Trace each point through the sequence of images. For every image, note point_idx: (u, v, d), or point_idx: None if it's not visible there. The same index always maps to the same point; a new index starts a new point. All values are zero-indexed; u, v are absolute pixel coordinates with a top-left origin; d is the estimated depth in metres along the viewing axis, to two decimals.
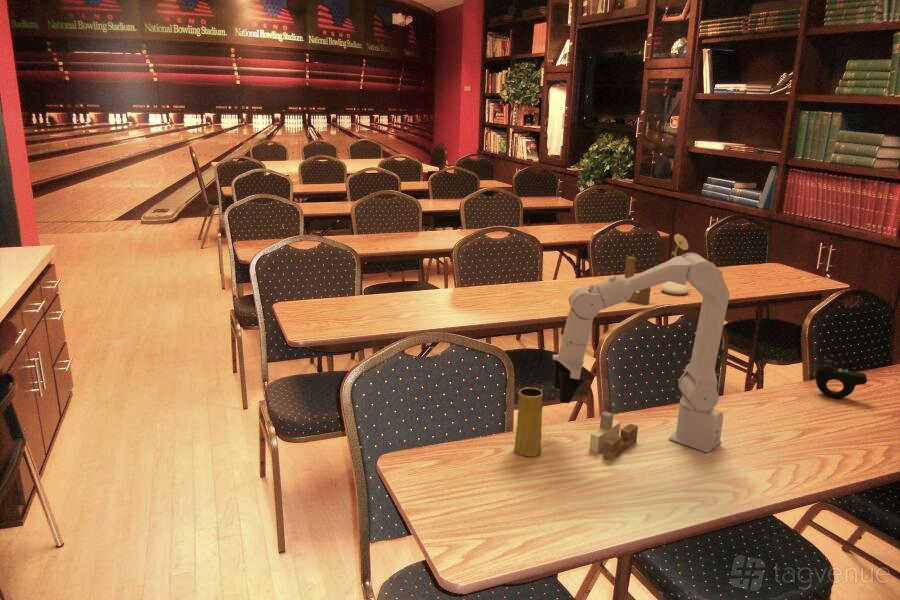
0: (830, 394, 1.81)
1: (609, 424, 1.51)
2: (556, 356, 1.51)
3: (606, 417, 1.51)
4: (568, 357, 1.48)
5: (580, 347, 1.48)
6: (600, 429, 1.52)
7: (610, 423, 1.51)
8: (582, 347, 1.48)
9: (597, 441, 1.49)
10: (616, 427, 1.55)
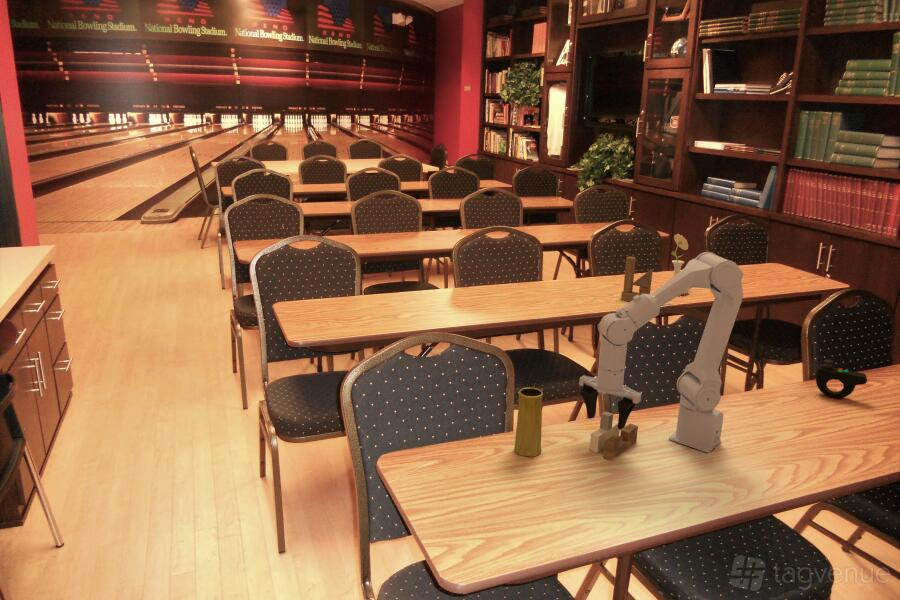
0: (830, 394, 1.81)
1: (609, 424, 1.51)
2: (603, 389, 1.47)
3: (606, 417, 1.51)
4: (617, 385, 1.47)
5: None
6: (600, 429, 1.52)
7: (610, 423, 1.51)
8: None
9: (597, 441, 1.49)
10: (616, 427, 1.55)
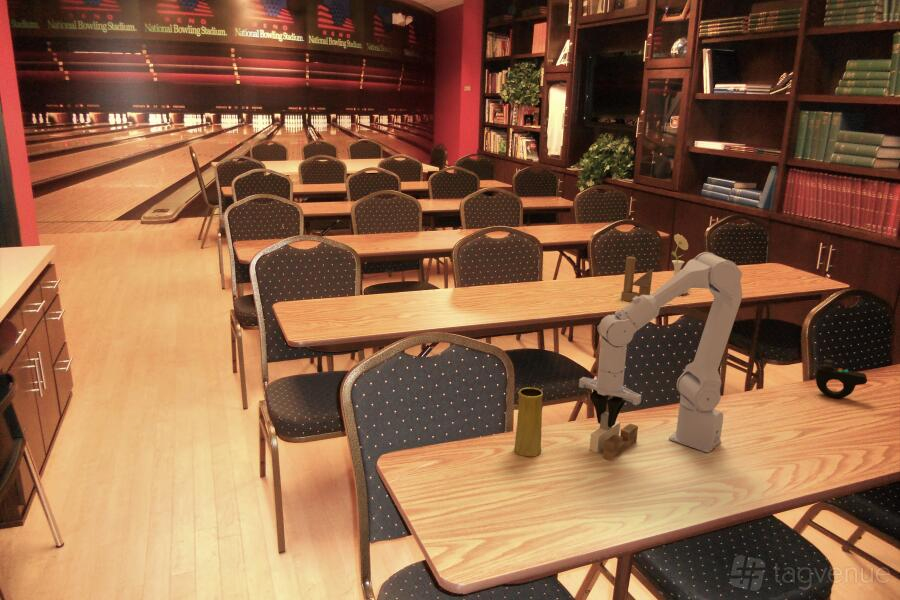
0: (830, 394, 1.81)
1: None
2: (603, 391, 1.47)
3: (605, 417, 1.51)
4: (617, 387, 1.47)
5: (623, 372, 1.47)
6: (600, 429, 1.52)
7: None
8: None
9: (597, 441, 1.49)
10: (616, 427, 1.55)
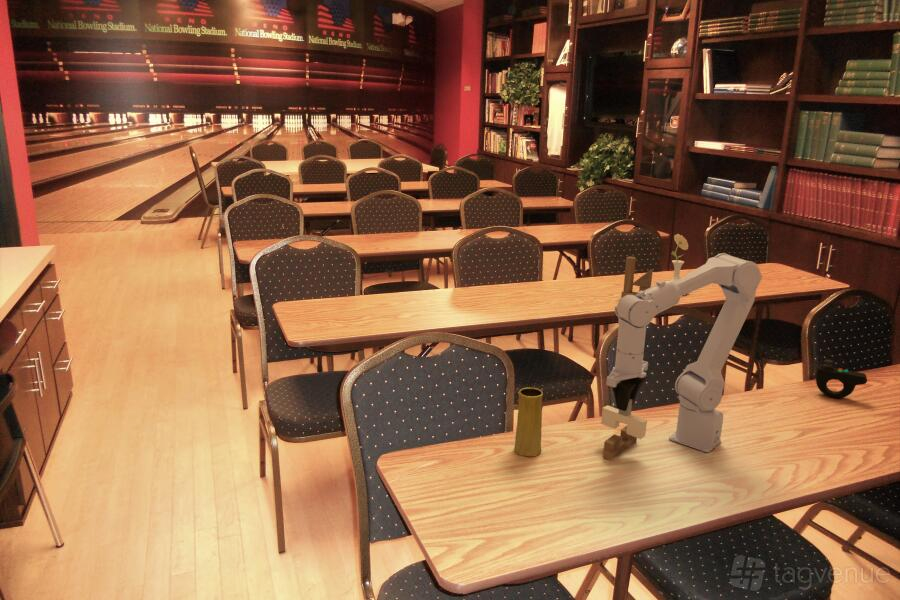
0: (830, 394, 1.81)
1: None
2: (642, 373, 1.44)
3: (630, 402, 1.47)
4: None
5: None
6: (629, 416, 1.47)
7: None
8: None
9: None
10: None
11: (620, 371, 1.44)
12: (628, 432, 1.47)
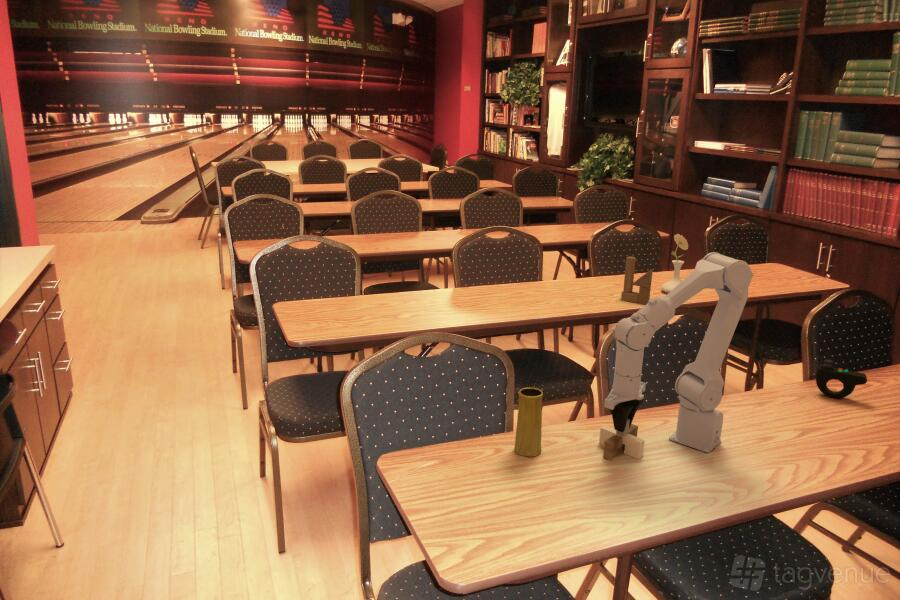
0: (830, 394, 1.81)
1: None
2: (640, 395, 1.45)
3: (628, 422, 1.49)
4: None
5: None
6: (627, 436, 1.48)
7: None
8: None
9: (643, 445, 1.47)
10: None
11: (618, 393, 1.45)
12: (626, 452, 1.49)
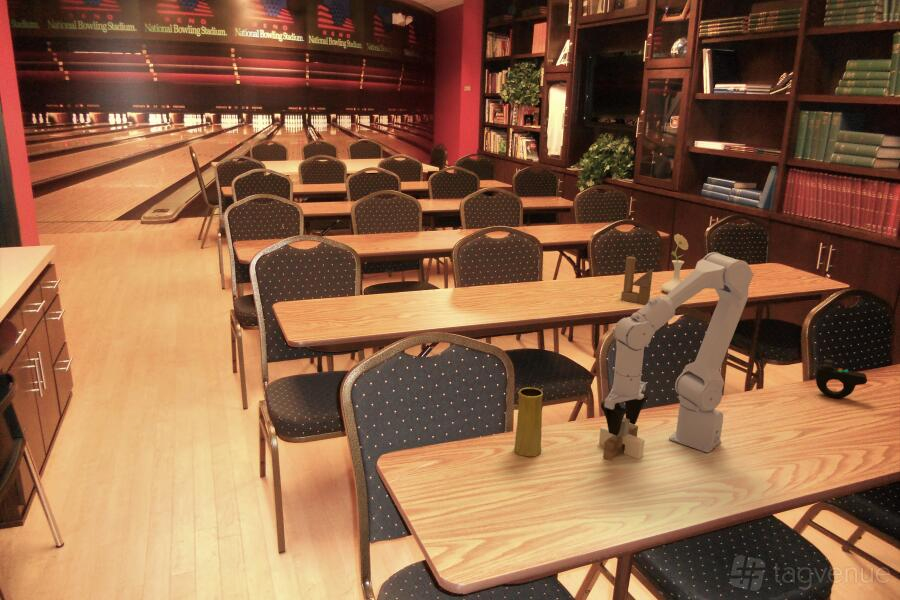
0: (830, 394, 1.81)
1: None
2: (640, 394, 1.45)
3: (628, 422, 1.49)
4: None
5: None
6: (627, 436, 1.48)
7: None
8: None
9: (643, 445, 1.47)
10: None
11: (618, 393, 1.45)
12: (626, 452, 1.49)
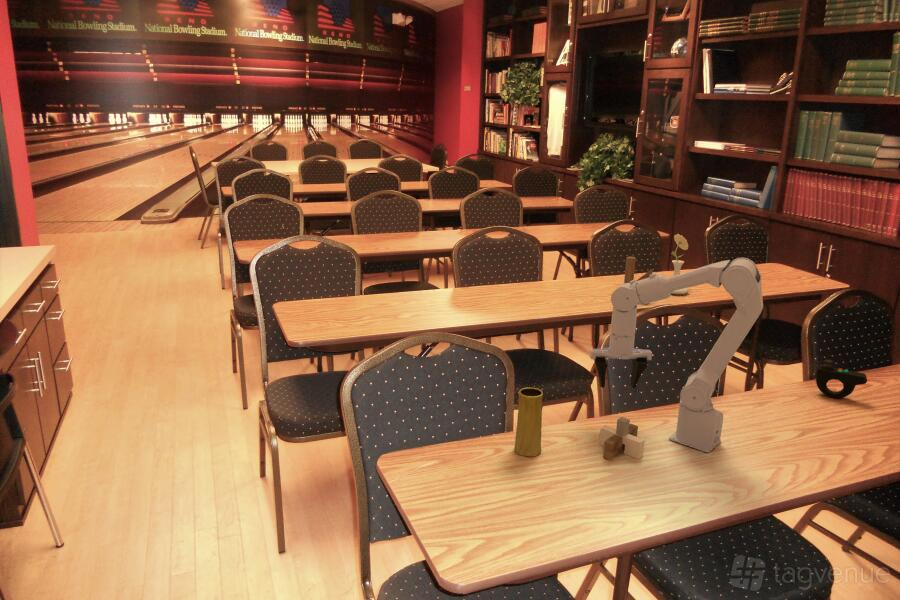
0: (830, 394, 1.81)
1: None
2: (625, 355, 1.56)
3: (628, 422, 1.49)
4: (633, 348, 1.58)
5: None
6: (627, 436, 1.48)
7: None
8: None
9: (643, 445, 1.47)
10: None
11: (608, 349, 1.60)
12: (626, 452, 1.49)
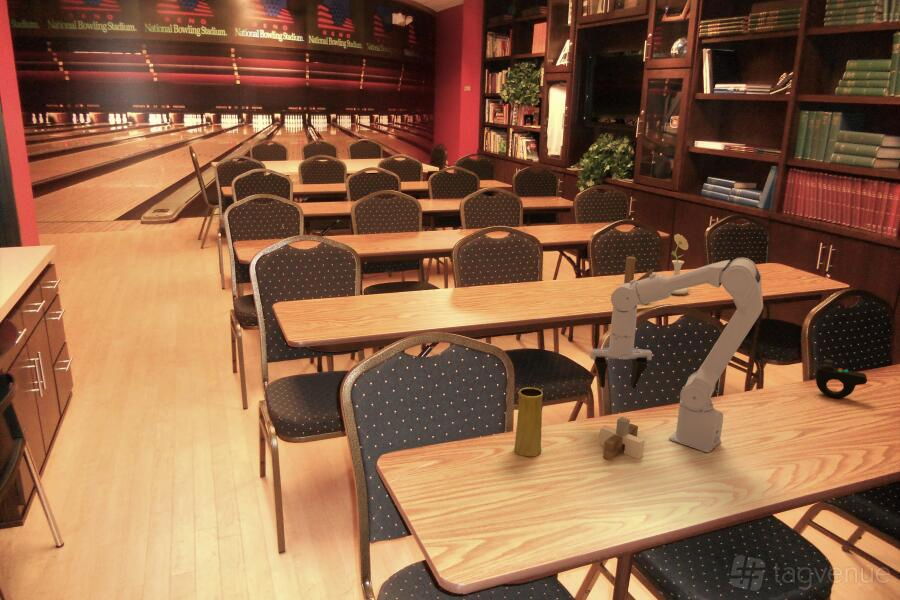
0: (830, 394, 1.81)
1: None
2: (625, 355, 1.56)
3: (628, 422, 1.49)
4: (633, 348, 1.58)
5: None
6: (627, 436, 1.48)
7: None
8: None
9: (643, 445, 1.47)
10: None
11: (608, 349, 1.60)
12: (626, 452, 1.49)
